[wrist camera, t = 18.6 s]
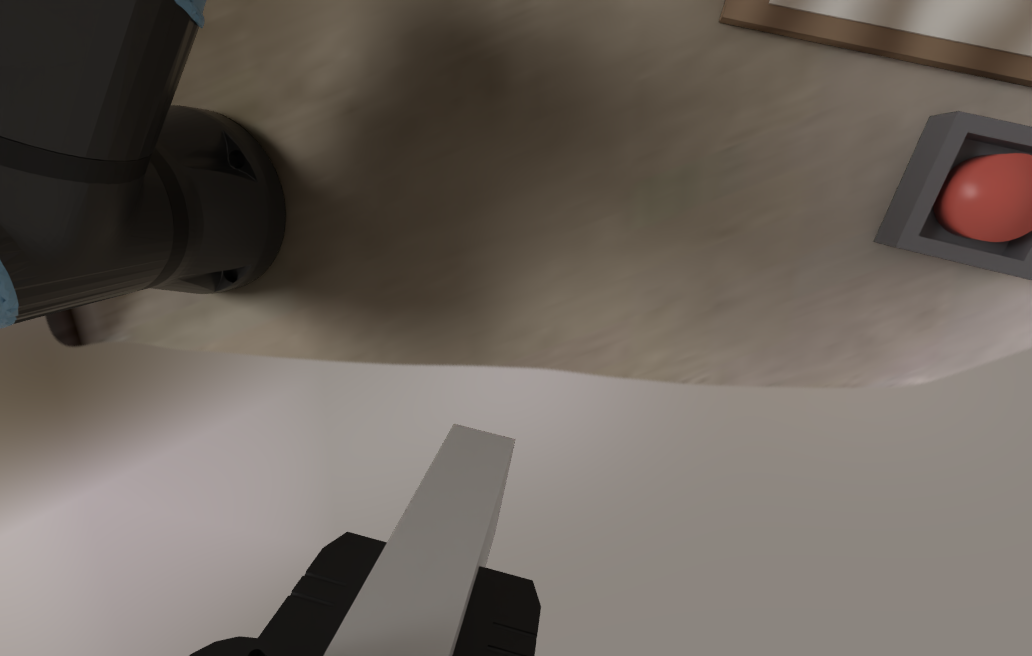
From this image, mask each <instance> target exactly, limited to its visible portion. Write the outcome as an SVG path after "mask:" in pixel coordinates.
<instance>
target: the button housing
mask: <svg viewBox="0 0 1032 656" xmlns="http://www.w3.org/2000/svg"><path fill="white" fill-rule="evenodd" d="M1009 153H1024V154H1030V155H1032V127H1030V126H1026V125H1021V124H1016V123H1012V122H1007V121H1002V120H998V119H993V118H988V117H984V116H979V115H974V114H970V113H965V112H960V111H956V112H951V113H945V114H940V115H934V116H930V117H929V119H928V121H927V124H926V126H925V128H924V130H923V133H922V135H921V137H920V139H919V141H918V144H917V146H916V148H915V150H914V153H913V155H912V157H911V159H910V162H909V164H908V166H907V168H906V170H905V173H904V175H903V177H902V179H901V182H900V184H899V186H898V188H897V191H896V193H895V195H894V197H893V199H892V202H891V204H890V206H889V208H888V211H887V213H886V215H885V217H884V220H883V222H882V224H881V226H880V229H879V231H878V233H877V235H876V237H875V240H874V242H877V243H881V244H885V245H889V246H893V247H897V248H901V249H905V250H909V251H913V252H917V253H921V254H926V255H930V256H934V257H938V258H942V259H946V260H950V261H954V262H959V263H963V264H967V265H971V266H975V267H979V268H983V269H987V270H992V271H996V272H1000V273H1004V274H1008V275H1012V276H1016V277H1020V278H1025V279H1029V280H1032V231H1030V232H1029V233H1027V234H1025V235H1023V236H1021V237H1019V238H1016V239H1013V240H1009V241H1004V242H988V241H982V240H977V239H971V238H966V237H960V236H957V235H954V234H952V233H950V232H948V231H947V230H945V229H944V228H943V227H942V226H941V225H940V224H939V222H938V220H937V219H936V216H935V213H934V205H933V204H934V202H935V200H936V198H937V196H938V194H939V192H940V190H941V187H942V185H943V183H944V181H945V179H946V177H947V175H948V173H949V171H950V170H951V169H953V168H954V167H955V166H957V165H958V164H960V163H961V162H963V161H965V160H967V159H970V158H973V157H976V156H981V155H990V154H1009Z"/></svg>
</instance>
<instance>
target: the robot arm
mask: <svg viewBox="0 0 1032 656" xmlns="http://www.w3.org/2000/svg"><path fill="white" fill-rule="evenodd" d="M205 3H206V0H0V328H4V327H7V326H10V325H12V324H15V323H19V322H22V321H26V320H30V319H34V318H37V317H41V316H45V315H49V314H52V313H56V312H60V311H64V310H68V309H71V308H75V307H79V306H83V305H86V304H90V303H94V302H98V301H102V300H105V299H109V298H113V297H117V296H120V295H124V294H128V293H132V292H135V291H139V290H143V289H147V288H153V289H162V290H170V291H179V292H187V293H196V294H210V293H219V292H223V291H227V290H230V289H234V288H237V287H240V286H243V285H246V284H248V283H250V282H252V281H253V280H255V279H256V278H258V277H259V276H260V275H262V274H263V273H264V272H265V271H266V270H267V269H268V267H269V266H270V265H271V263H272V262H273V260H274V259H275V257H276V255H277V253H278V251H279V249H280V246H281V243H282V239H283V235H284V229H285V203H284V197H283V192H282V188H281V185H280V182H279V179H278V176H277V174H276V171H275V169H274V167H273V165H272V163H271V161H270V160H269V158H268V156H267V155H266V153H265V152H264V150H263V149H262V148H261V146H260V145H259V144H258V143H257V141H256V140H255V139H254V138H253V137H252V136H251V135H250V134H249V133H248V132H247V131H246V130H244V129H243V128H242V127H241V126H239V125H238V124H237V123H235V122H234V121H232V120H230V119H228V118H227V117H225V116H223V115H220V114H218V113H215V112H212V111H209V110H204V109H199V108H192V107H186V106H175V105H171V102H172V100H173V97H174V94H175V91H176V89H177V86H178V83H179V81H180V78H181V75H182V72H183V70H184V67H185V64H186V61H187V59H188V56H189V53H190V51H191V48H192V45H193V42H194V40H195V37H196V34H197V31H198V29H199V27H201V28H203V26H204V16H203V14H202V13H203V10H204V6H205ZM514 443H515V439H512V438H508V437H505V436H500V435H496V434H492V433H489V432H485V431H481V430H476V429H473V428H469V427H465V426H461V425H456V424H454V425H453V426H452V428H451V430H450V432H449V433H448V435H447V437H446V439H445V441H444V443H443V444H442V446H441V448H440V449H439V451H438V453H437V455H436V457H435V459H434V460H433V462H432V464H431V466H430V467H429V469H428V471H427V473H426V474H425V476H424V478H423V480H422V481H421V483H420V485H419V487H418V489H417V490H416V492H415V494H414V496H413V498H412V499H411V501H410V503H409V505H408V506H407V508H406V510H405V512H404V513H403V515H402V517H401V519H400V521H399V522H398V524H397V526H396V528H395V529H394V531H393V533H392V535H391V537H390V538H389V540H388V542H383V541H379V540H376V539H372V538H368V537H365V536H361V535H358V534H354V533H350V532H346V533H345V534H343V535H342V536H340V537H339V538H337V539H336V540H334V541H333V542H331V543H330V544H328V545H327V546H325V547H324V548H323V549H322V550H321V552H320V553H319V554H318V555H317V557H316V558H315V560H314V561H313V562H312V564H311V565H310V567H309V568H308V569H307V571H306V574H305V576H302V578H301V579H300V580H299V582H298V583H297V584H296V586H295V587H294V589H293V590H292V593H291V595H290V596H288V597H287V598H286V600H285V601H284V603H283V604H282V605H281V607H280V608H279V609H278V611H277V612H276V614H275V615H274V616H273V618H272V619H271V620H270V622H269V623H268V625H267V626H266V627H265V629H264V630H263V632H262V633H261V634H260V636H259V637H258V638H249V637H234V638H230V639H226V640H221V641H216V642H214V643H212V644H210V645H208V646H206V647H204V648H202V649H200V650H198V651H196V652H194V653H192V654H191V655H190V656H534V654H535V647H536V638H537V632H538V625H539V617H540V609H541V606H540V602H539V599H538V596H537V593H536V590H535V587H534V583H533V581H532V580H529V579H525V578H521V577H518V576H514V575H510V574H507V573H503V572H499V571H496V570H492V569H488V568H485V566H486V563H487V559H488V556H489V552H490V549H491V545H492V542H493V538H494V535H495V531H496V526H497V521H498V517H499V512H500V508H501V503H502V498H503V494H504V489H505V484H506V480H507V475H508V470H509V466H510V461H511V457H512V453H513V448H514Z"/></svg>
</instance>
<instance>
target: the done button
mask: <svg viewBox="0 0 1032 656" xmlns="http://www.w3.org/2000/svg"><path fill="white" fill-rule="evenodd" d="M933 205H934V213H935V216H936V219H937V220H938V222H939V224H940V225H941V226H942V227H943V228H944V229H945V230H947V231H948V232H950V233H952V234H954V235H957V236H960V237H966V238H971V239H977V240H982V241H988V242H1004V241H1009V240H1013V239H1016V238H1019V237H1021V236H1023V235H1025V234H1027V233H1029V232H1030V231H1032V155H1030V154H1024V153H1009V154H990V155H981V156H976V157H973V158H970V159H967V160H965V161H963V162H961V163H960V164H958V165H957V166H955V167H954V168H953V169H951V170H950V171H949V173H948V175H947V177H946V179H945V181H944V183H943V185H942V187H941V190H940V192H939V194H938V196H937V198H936V200H935V202H934V204H933Z"/></svg>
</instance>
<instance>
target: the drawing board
mask: <svg viewBox="0 0 1032 656" xmlns="http://www.w3.org/2000/svg"><path fill="white" fill-rule="evenodd" d="M719 22H721V23H725V24H730V25H735V26H740V27H745V28H750V29H754V30H759V31H764V32H769V33H774V34H778V35H783V36H788V37H793V38H798V39H803V40H807V41H812V42H817V43H822V44H827V45H831V46H836V47H841V48H846V49H851V50H856V51H860V52H865V53H870V54H875V55H880V56H884V57H889V58H894V59H899V60H904V61H909V62H913V63H918V64H923V65H928V66H933V67H937V68H942V69H947V70H952V71H957V72H962V73H966V74H971V75H976V76H981V77H986V78H990V79H995V80H1000V81H1005V82H1010V83H1015V84H1019V85H1024V86H1029V87H1032V0H725V3H724V7H723V10H722V13H721V16H720V20H719Z"/></svg>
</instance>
